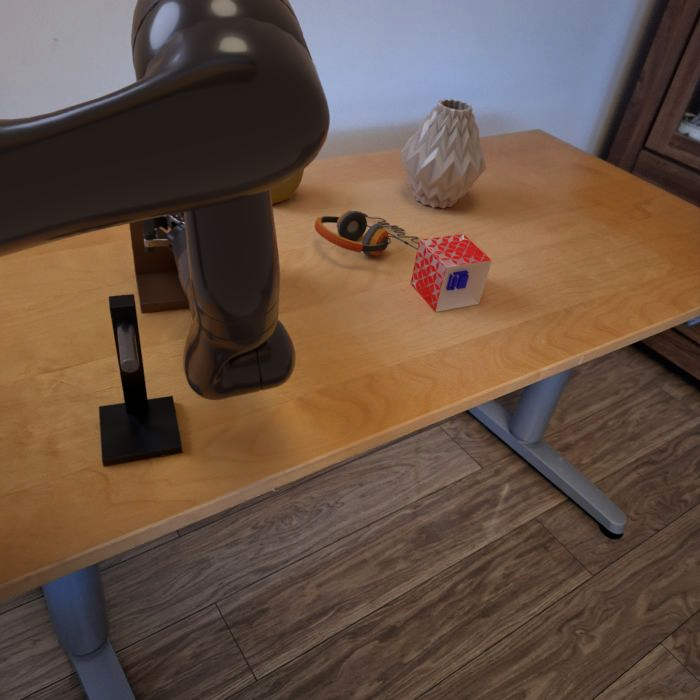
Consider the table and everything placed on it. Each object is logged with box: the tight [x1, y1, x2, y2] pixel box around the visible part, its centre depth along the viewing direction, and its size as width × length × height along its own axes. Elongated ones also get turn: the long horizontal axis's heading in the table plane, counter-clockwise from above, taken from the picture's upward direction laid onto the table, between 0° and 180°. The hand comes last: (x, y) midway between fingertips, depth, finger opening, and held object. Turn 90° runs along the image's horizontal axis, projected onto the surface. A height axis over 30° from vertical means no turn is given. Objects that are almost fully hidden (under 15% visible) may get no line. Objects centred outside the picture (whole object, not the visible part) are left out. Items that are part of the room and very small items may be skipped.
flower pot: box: [271, 169, 305, 205], centre depth 112 cm, size 9×9×9 cm
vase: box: [400, 98, 487, 209], centre depth 117 cm, size 16×16×18 cm
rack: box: [128, 212, 189, 314], centre depth 83 cm, size 16×10×23 cm, turn 109°
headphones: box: [314, 210, 419, 256], centre depth 104 cm, size 17×5×20 cm
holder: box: [98, 293, 183, 467], centre depth 63 cm, size 8×8×16 cm
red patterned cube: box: [410, 233, 493, 313], centre depth 94 cm, size 8×8×8 cm
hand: (190, 201), depth 83 cm, fingers closed on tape, 6 cm apart
